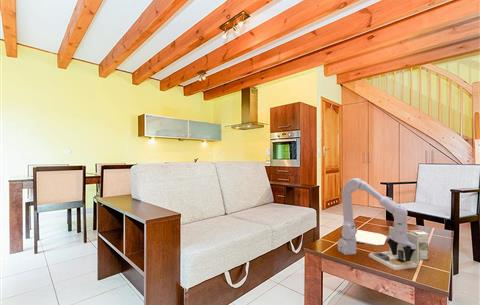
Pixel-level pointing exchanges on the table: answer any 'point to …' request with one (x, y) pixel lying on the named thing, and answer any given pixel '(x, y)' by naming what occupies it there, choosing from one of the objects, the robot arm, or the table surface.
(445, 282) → the table surface
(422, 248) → the syrup box
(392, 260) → the equipment case
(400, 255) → the rod
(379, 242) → the plate
